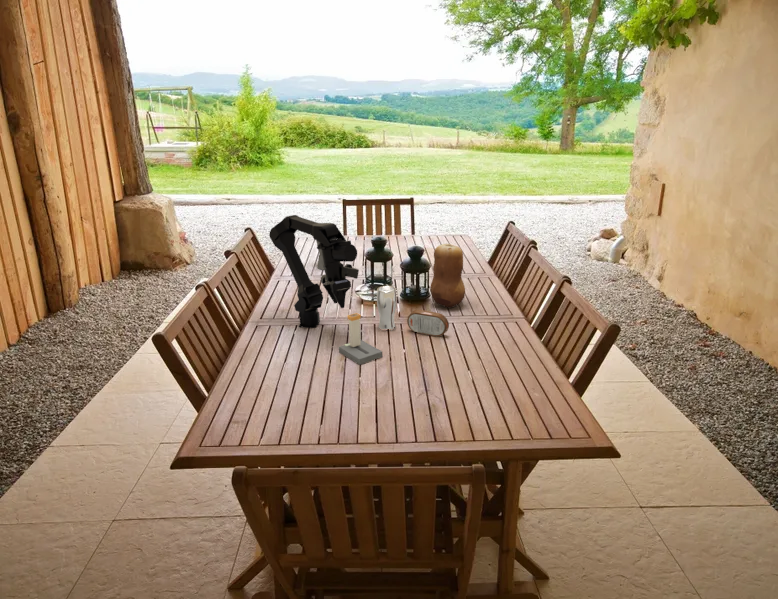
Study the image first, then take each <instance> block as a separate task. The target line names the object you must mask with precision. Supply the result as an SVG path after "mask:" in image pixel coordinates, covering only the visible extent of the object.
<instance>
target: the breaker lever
mask: <svg viewBox="0 0 778 599" xmlns="http://www.w3.org/2000/svg"><path fill="white" fill-rule="evenodd" d="M360 319H362V315H361V314H360V313H357V312H354V313H352V314H351V313H350V314H347V320H348V332H349V333H348V336H349V338H348V340H349V343H350V346H352V347H355V346H359V345H361V341H360V340H361V320H360Z"/></svg>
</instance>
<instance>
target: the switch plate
mask: <svg viewBox="0 0 778 599" xmlns="http://www.w3.org/2000/svg"><path fill="white" fill-rule="evenodd" d="M360 341H361V345H359V346H355V347H352V346H350V342H348V343H345V344H342V345H340V346H338V353H340V354H341V355H343V356H345V357H346V358H348V359H350V360H351V361H352V362H354V363H356V364H358V365H363V364H366V362H367V363H369V361H370V362H372V360H373V361H375V360H374V359H376V360H378V359H381V358H383V351H382V350H381V349H379V348H377V347H375V346H373V345H372V344H370V343H368V342H367V341H365V340H363V339H360ZM380 357H381V358H380ZM377 358H378V359H377Z"/></svg>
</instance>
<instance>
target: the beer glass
mask: <svg viewBox="0 0 778 599" xmlns="http://www.w3.org/2000/svg"><path fill="white" fill-rule="evenodd" d="M396 289H397V288H396V287H394V286H391V285H382V286H379V287H377V290H376V305H377V306H376V307H377V312H378V316H379V323H378V329H379V328H381V329H393V328H394V327H395V328H396V323H395V313H396V306H397V292H396V291H397V290H396Z"/></svg>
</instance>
